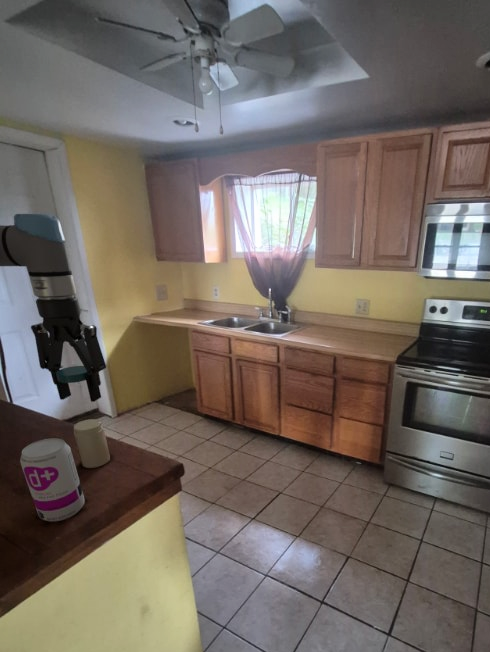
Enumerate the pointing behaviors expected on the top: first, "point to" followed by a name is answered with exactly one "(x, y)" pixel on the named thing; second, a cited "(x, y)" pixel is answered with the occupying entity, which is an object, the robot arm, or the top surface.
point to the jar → (91, 443)
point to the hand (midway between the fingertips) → (80, 398)
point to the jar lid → (71, 374)
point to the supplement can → (52, 479)
